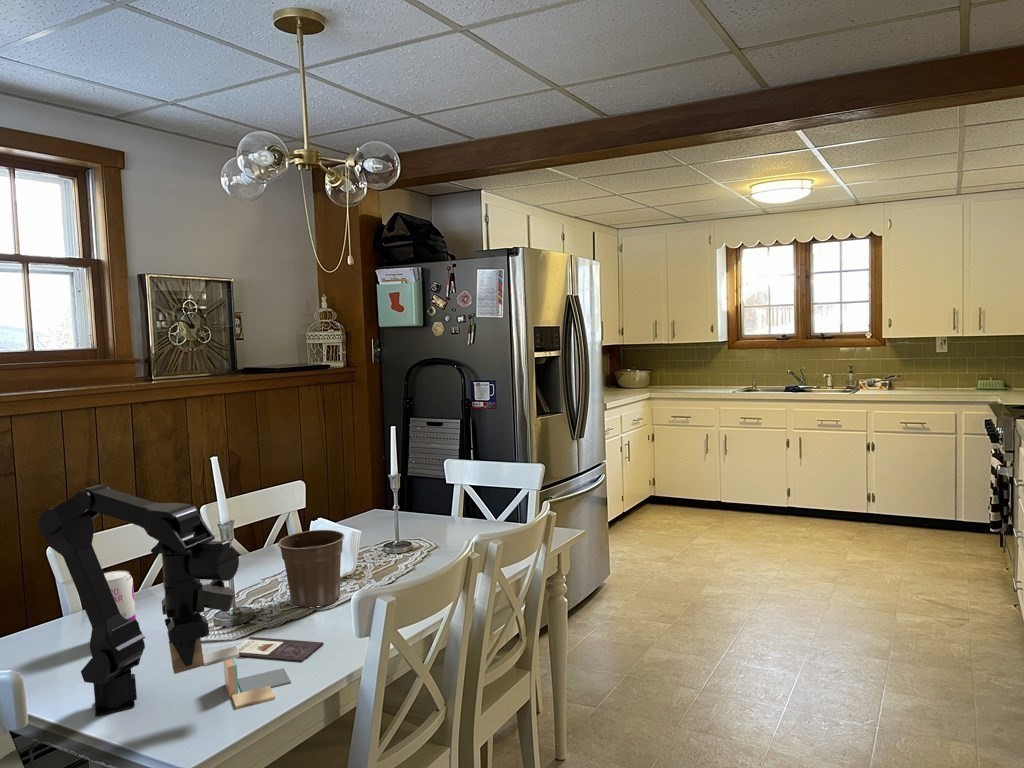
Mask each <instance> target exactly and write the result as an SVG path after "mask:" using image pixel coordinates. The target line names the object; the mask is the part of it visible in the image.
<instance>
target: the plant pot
mask: <svg viewBox="0 0 1024 768" xmlns="http://www.w3.org/2000/svg"><path fill="white" fill-rule="evenodd" d="M344 539H345V534H344V533H343V532H341V531H338V530H334V529H333V530H332V529H316V530H314V529H313V530H306V531H302V532H301V531H300V532H296V533H293V534H290V535H287V536H284V537H282V538H281V539H279V541H278V542H277V546H278V547H279V548H280V554H281V558H282V560H283V562H284V568H285V572H286V578H287V580H286V581H287V584H288V591H289V596H290V602H291V605H292V604H293V605H292V606H294V605H295V606H298V607H297V608H299V607H302V608H304V607H305V608H307V607H316V608H318V607H317V606H323V607H325V606H324V605H326V606H329V605H332V604H333V603H335V602H336V601H337V600H339V599H340V597H341V563H342V562H341V560H342V559H341V558H342V553H343V540H344ZM328 604H329V605H328ZM295 606H294V607H295Z"/></svg>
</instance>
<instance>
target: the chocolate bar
mask: <svg viewBox="0 0 1024 768" xmlns="http://www.w3.org/2000/svg"><path fill="white" fill-rule="evenodd" d="M323 646H324V642H322V641H321V642H320V641H311V640H310V641H309V640H297V639H282V638H271V637H270V638H269V637H258V636H257V637H256V636H250V637H249V638H247V639H246V640H244V641H243V642H241V643H240V644H239V645H237V646H236V648H237V650H238V652H239V657H238V658H240V657H241V658H243V659H248V658H249V659H262V660H274V661H285V662H296V663H298V662H299V663H303V662H304V661H306V660H307V659H309V658H310V657H312V655H314V654H315V653H316V652H317V651H319V650H320V649H321V648H322V647H323Z"/></svg>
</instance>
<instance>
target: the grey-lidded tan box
mask: <svg viewBox="0 0 1024 768" xmlns="http://www.w3.org/2000/svg"><path fill="white" fill-rule="evenodd" d="M168 645H169V651H170V657H171V665H172V670H173V674H174V675H176V674H181V673H183V672H187V671H191V670H194V669H198V668H201V667H209V666H212V665H215V664H219V663H222V662H223V663H224V661H226V660H230V659H234V660H235V659H237V658H240V657H239V652H238V650H237V648H236V647H237V646H235V645H234V646H231V647H228V648H223V649H220V650H217V651H212V652H209V653H206V654H203V648H202V640H201V638H197V639H196V644H195V650H194V656H193V661H192V665H190V666H185V665H184V663H183V661H182V659H181V658H180V656H179V654H178V652H177V651H176V649H175V647H174V646H173V644H172V643H170V642H169V641H168Z"/></svg>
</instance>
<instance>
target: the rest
mask: <svg viewBox="0 0 1024 768" xmlns="http://www.w3.org/2000/svg"><path fill="white" fill-rule="evenodd" d="M231 699H232V702H233V705H234V707H235V709H236V710H237V709H241V707H242V708H245V707H249V706H253V705H257V704H260V703H265V702H269V701H272V700H276V695H275V693H274V691H273V688H271V687H270V686H267V687H263V688H259V689H255V690H250V691H246V692H242V691H241V692H239V693H238V694H234V695H232V697H231Z"/></svg>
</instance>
